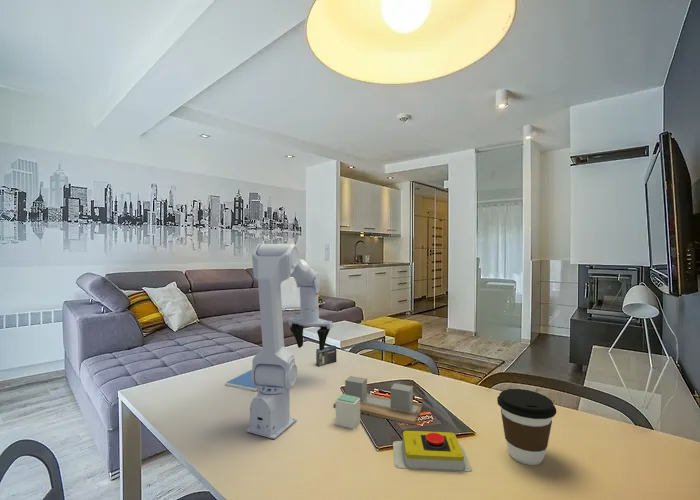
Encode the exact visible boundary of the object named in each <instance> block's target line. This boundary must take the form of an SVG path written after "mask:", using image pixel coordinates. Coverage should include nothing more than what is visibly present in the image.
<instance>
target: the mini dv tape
mask: <svg viewBox="0 0 700 500" xmlns="http://www.w3.org/2000/svg"><path fill="white" fill-rule="evenodd" d="M315 356H316V357H315V359H316V364H315V365H316V366H317V367H319V368H320V367H324V366H327V365H329V364H330V365H331V364H334V363H337V346H336V345H335V344H334V345H329V346H324V349H323V350H322V351H321V350H320V349H319V348H317V349H316V351H315Z"/></svg>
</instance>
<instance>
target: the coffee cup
mask: <svg viewBox="0 0 700 500" xmlns="http://www.w3.org/2000/svg"><path fill="white" fill-rule="evenodd" d="M496 398H497V405H498V406H499V407H500V413H501V420H502V427H503V433H504V439H505V440H506V446H507V451H508V453H509V455H510V456H511V458H512V459H513V460H515V461H517V462H518V463H521V464H523V465H529V466H538V465H540V464H541V463H542V462H543V460H544V459H545V456H546V450H547V448H548V445H549V438H550V434H551V429H552V423H553V421H552V418H554V417H555V416H556V415H557V408H556V406H555V404H554V401H553V400H551V398H549V397H548V396H545V395H544V394H541V393H539V392H537V391H533V390H529V389H522V388H509V389H503V390H502V391H501V392H500V393H499V395H498V396H497V397H496Z"/></svg>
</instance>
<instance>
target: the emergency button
mask: <svg viewBox="0 0 700 500" xmlns="http://www.w3.org/2000/svg"><path fill="white" fill-rule="evenodd" d="M392 447H393V448H392V450H393V452H392V453H393V462H394V464H393V465H394V466H395V468H397V469H403V470H420V471H421V470H423V471H442V472H443V471H445V472H459V473H460V472H463V473H470V472H471V471H472V470H473V469H472V466H471V463H470V461H469V459H468V456H467V455H466V454H467V453H466V451H465V449H464V446H463V445H461V444H460V443H459V440H458V438H457V436H456V434H455V433H453V432H448V431H447V432H446V431H445V432H444V431H423V430H421V431H419V430H404V431H403V434H402V440H395V441H393V442H392Z"/></svg>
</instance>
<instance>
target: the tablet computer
mask: <svg viewBox="0 0 700 500" xmlns="http://www.w3.org/2000/svg"><path fill="white" fill-rule="evenodd" d="M251 371H252V369H250V370H248V371H247V372H244V373H242V374H240V375H237V376H236V377H234V378H232V379H230V380H228V381H226V382H225V383H224V385H225V386H226V387H230V388H235V389H241V390H245V391H251V392H256V391H258V390H256V386H255V385H254V384H253V382H252V380H251Z"/></svg>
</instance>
